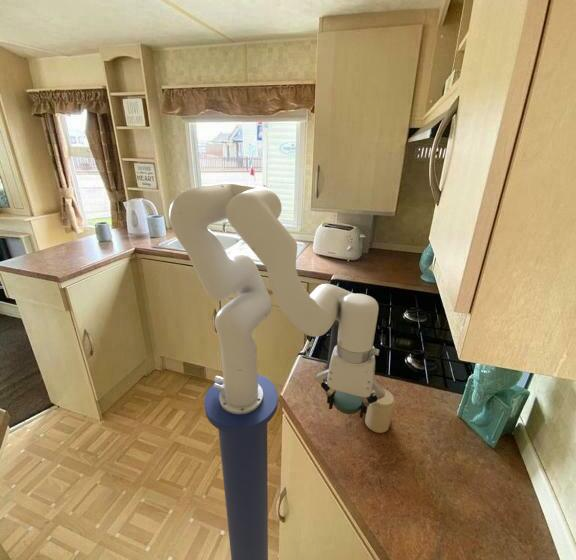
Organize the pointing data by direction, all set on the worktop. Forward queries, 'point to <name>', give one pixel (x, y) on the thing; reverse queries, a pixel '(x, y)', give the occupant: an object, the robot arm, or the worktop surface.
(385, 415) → the jam jar
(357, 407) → the jam lid
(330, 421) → the worktop surface
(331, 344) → the container
